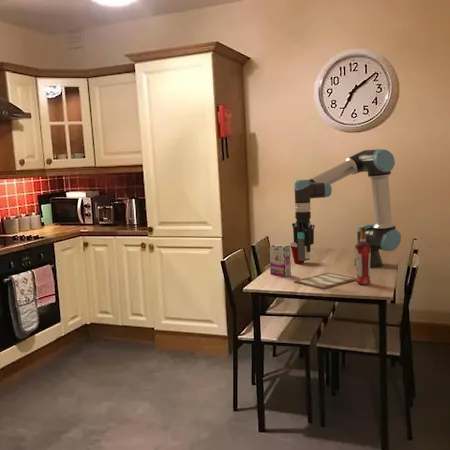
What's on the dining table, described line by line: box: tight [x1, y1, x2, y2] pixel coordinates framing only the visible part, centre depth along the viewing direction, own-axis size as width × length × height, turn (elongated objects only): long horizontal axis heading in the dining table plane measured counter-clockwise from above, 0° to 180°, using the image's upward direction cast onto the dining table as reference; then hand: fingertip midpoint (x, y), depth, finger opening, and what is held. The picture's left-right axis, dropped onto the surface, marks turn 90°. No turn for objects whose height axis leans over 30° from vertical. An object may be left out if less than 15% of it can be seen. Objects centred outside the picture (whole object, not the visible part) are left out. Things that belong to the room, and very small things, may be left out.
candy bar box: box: [269, 243, 292, 278], centre depth 275 cm, size 11×5×16 cm, turn 40°
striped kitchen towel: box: [293, 272, 357, 290], centre depth 258 cm, size 26×20×1 cm
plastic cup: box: [289, 241, 305, 265], centre depth 303 cm, size 11×11×12 cm
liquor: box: [354, 227, 372, 286], centre depth 248 cm, size 7×7×28 cm
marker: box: [297, 232, 311, 262], centre depth 256 cm, size 4×4×14 cm
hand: (304, 257), depth 256 cm, fingers closed on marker, 4 cm apart
